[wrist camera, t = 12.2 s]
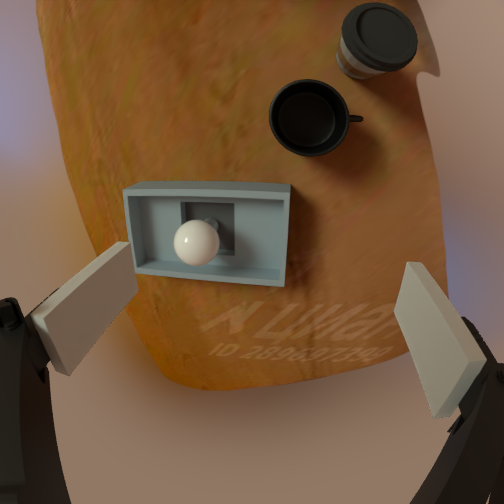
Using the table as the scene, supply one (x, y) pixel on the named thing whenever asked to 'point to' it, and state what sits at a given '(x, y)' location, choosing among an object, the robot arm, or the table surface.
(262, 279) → the socket box
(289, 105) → the mug
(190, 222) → the lightbulb
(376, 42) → the coffee cup
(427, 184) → the table surface
